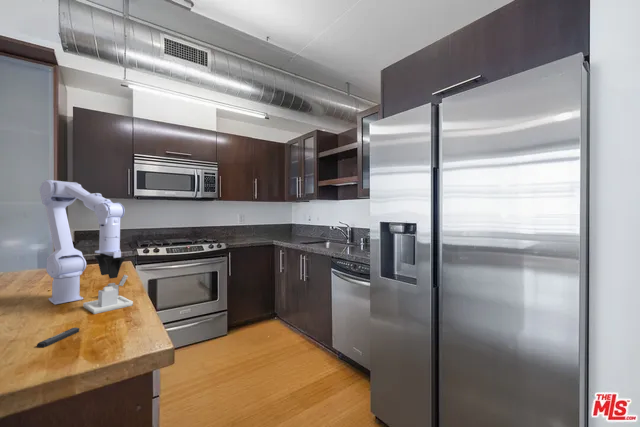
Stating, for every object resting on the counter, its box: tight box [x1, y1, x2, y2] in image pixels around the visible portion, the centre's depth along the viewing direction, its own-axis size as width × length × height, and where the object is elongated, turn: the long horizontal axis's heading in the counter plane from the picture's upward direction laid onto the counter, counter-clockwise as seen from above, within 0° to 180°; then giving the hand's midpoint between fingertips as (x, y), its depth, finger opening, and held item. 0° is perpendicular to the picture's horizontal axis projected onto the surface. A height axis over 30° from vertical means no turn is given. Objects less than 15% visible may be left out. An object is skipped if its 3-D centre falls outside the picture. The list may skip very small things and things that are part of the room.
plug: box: [97, 286, 118, 307], centre depth 97 cm, size 4×4×6 cm
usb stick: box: [36, 327, 80, 348], centre depth 72 cm, size 10×3×2 cm, turn 177°
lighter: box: [104, 274, 129, 296], centre depth 108 cm, size 7×2×8 cm, turn 130°
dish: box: [82, 295, 134, 315], centre depth 97 cm, size 11×11×1 cm
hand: (109, 276), depth 97 cm, fingers open, 7 cm apart
